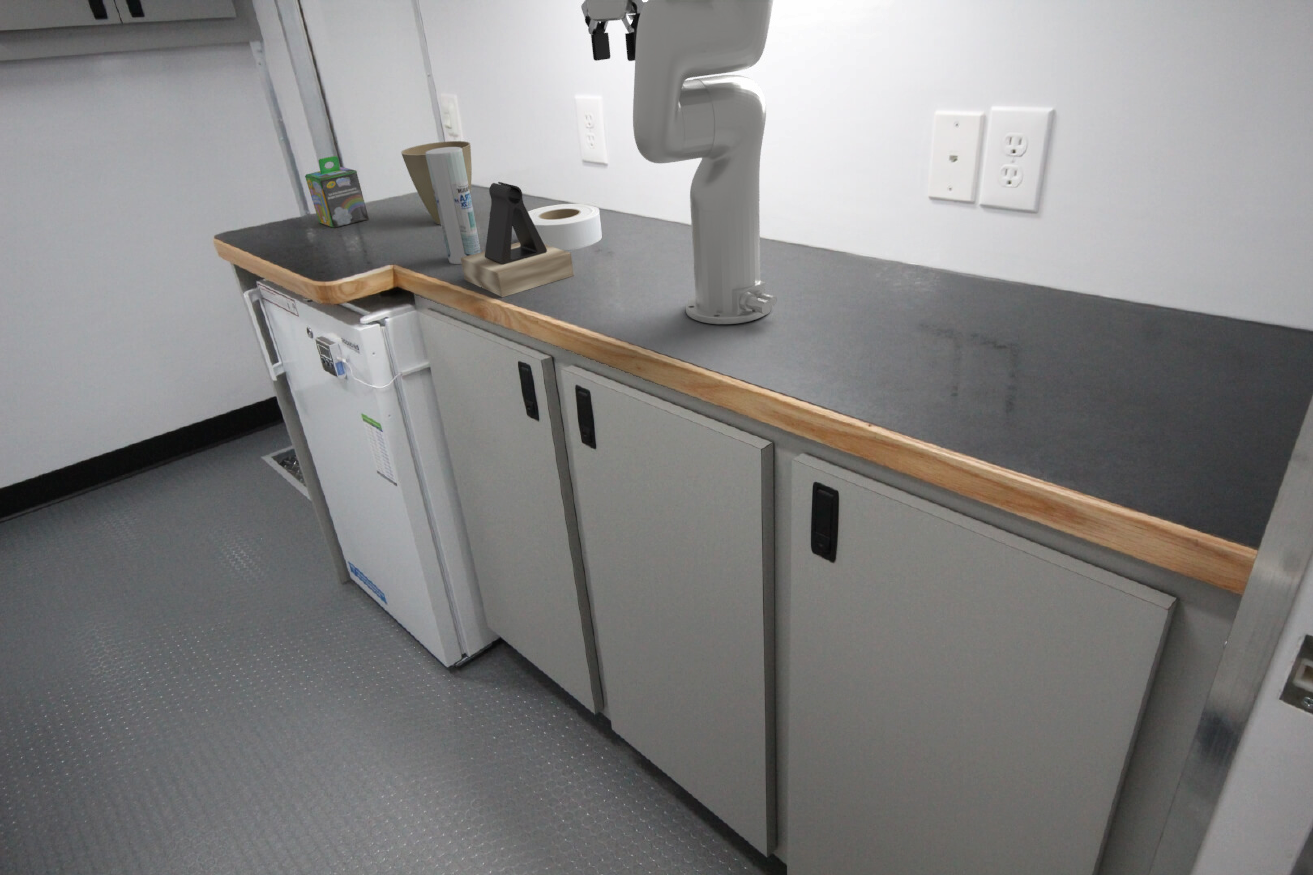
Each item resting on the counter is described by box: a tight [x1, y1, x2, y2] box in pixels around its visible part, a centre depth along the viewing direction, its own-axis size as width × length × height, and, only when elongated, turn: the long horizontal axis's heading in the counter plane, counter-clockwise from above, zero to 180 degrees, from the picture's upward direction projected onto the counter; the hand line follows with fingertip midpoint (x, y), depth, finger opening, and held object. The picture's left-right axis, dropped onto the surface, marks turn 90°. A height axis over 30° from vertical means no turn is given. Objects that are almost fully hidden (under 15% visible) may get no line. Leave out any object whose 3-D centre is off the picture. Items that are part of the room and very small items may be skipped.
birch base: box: [461, 241, 575, 298], centre depth 138 cm, size 14×14×4 cm
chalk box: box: [304, 155, 369, 229], centre depth 184 cm, size 9×9×15 cm
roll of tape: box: [527, 203, 603, 252], centre depth 157 cm, size 16×16×6 cm
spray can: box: [425, 147, 482, 265], centre depth 147 cm, size 6×6×20 cm
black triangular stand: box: [484, 181, 547, 265], centre depth 134 cm, size 9×6×12 cm, turn 127°
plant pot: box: [400, 140, 473, 225], centre depth 176 cm, size 15×15×16 cm
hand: (618, 59), depth 132 cm, fingers open, 9 cm apart
